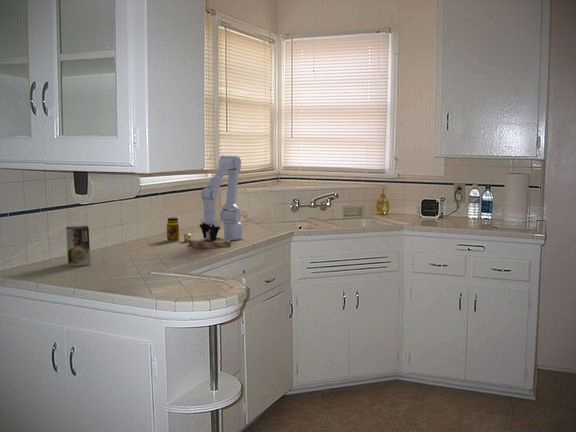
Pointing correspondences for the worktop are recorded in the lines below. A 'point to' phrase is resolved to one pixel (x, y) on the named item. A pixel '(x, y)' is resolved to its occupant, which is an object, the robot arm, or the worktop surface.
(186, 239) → the short stub
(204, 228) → the robot arm
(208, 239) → the grey cylinder
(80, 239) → the coffee box
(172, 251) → the worktop surface
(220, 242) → the hole block
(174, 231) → the condiment
